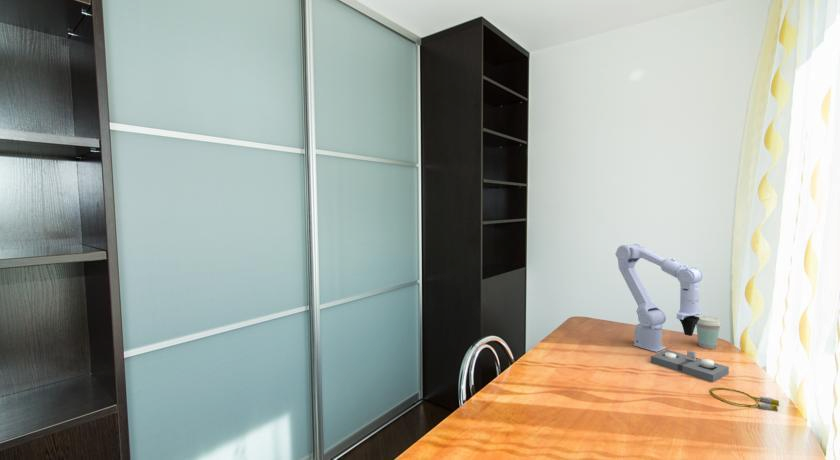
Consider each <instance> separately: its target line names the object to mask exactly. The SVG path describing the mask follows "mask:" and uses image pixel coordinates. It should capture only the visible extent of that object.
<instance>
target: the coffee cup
mask: <svg viewBox="0 0 840 460" xmlns="http://www.w3.org/2000/svg"><path fill="white" fill-rule="evenodd" d="M697 317H700V319H699V321H698V322H697V324H696V326H695V328H696V334H697V343H698V347H700V348H702V349H705V348H706V349H707V350H716V349H717V343H718V337H719V333H720V326H721V321H720V319H719V318H716V317H712V316H706V315H700V316H699V315H697Z"/></svg>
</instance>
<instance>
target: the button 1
mask: <svg viewBox="0 0 840 460" xmlns="http://www.w3.org/2000/svg"><path fill="white" fill-rule="evenodd" d="M665 357H668V358H672V359H675V358H676V354H674V353H671V352H665Z"/></svg>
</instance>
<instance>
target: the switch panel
mask: <svg viewBox="0 0 840 460" xmlns="http://www.w3.org/2000/svg"><path fill="white" fill-rule="evenodd" d="M665 352H671V353H674V354H676V358H675V359H672V358H668V357H665ZM685 358H687V354H685V353H680V352H677V351H673V350H670V349H664V350H661V351H659V352H658V353H657V352H656V353H655V354H653V355H652V354H651V355H650V363H651V364H655V365H658V366H659V367H664V368H667V369H670V370H674V371H676V372H678V373H682V374H686V375H689V376H692V377H695V378H698V379H702V380H704V381H708V382H710V383H715V382H716V381H718V380H720V379H722V378H723V377H726V376H727V375H729V372H730V371H729V370H730V367H729V366H728V365H723V364H719V363H716V362H714V368H706V367H703V366H702V365H701V359H702V358H700V357H699V358H698V357H696V359H697V360H696V361H691V360H688V359H685Z"/></svg>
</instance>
